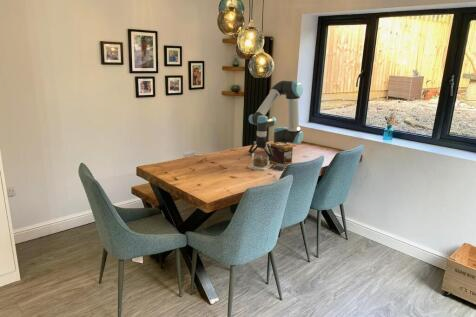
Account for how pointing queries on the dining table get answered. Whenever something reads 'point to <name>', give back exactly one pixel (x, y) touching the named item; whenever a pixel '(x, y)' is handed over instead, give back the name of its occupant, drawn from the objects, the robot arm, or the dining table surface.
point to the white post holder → (260, 167)
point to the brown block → (260, 162)
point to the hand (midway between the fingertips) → (260, 163)
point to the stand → (279, 166)
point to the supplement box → (281, 153)
